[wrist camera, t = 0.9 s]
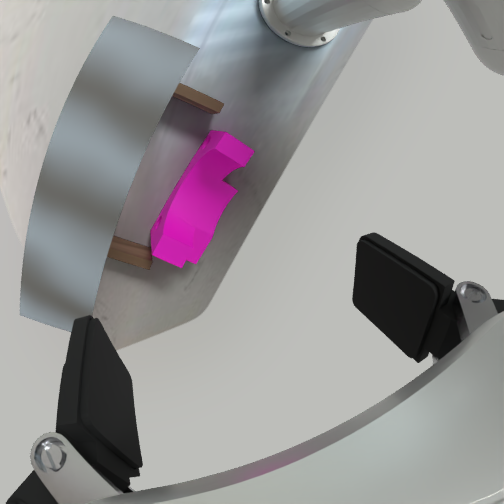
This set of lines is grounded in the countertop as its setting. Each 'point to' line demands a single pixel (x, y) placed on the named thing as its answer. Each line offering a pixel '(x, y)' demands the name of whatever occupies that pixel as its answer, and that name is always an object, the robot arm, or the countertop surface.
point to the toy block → (198, 200)
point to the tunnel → (99, 167)
